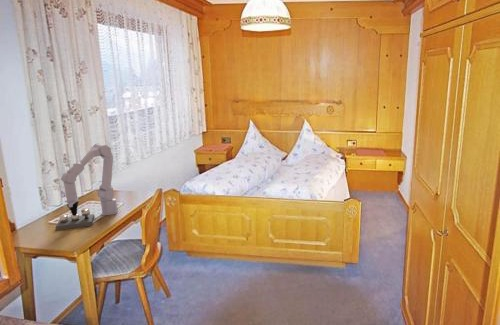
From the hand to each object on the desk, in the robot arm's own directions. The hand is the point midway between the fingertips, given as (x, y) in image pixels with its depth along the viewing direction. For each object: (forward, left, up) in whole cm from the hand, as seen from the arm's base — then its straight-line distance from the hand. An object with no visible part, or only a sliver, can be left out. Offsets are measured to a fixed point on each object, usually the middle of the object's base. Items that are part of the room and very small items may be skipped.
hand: (74, 214), depth 220 cm
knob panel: (0, 0, -6) cm, 6 cm away
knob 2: (-6, 0, -3) cm, 7 cm away
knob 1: (+6, 0, -6) cm, 8 cm away
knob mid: (0, 0, -6) cm, 6 cm away
